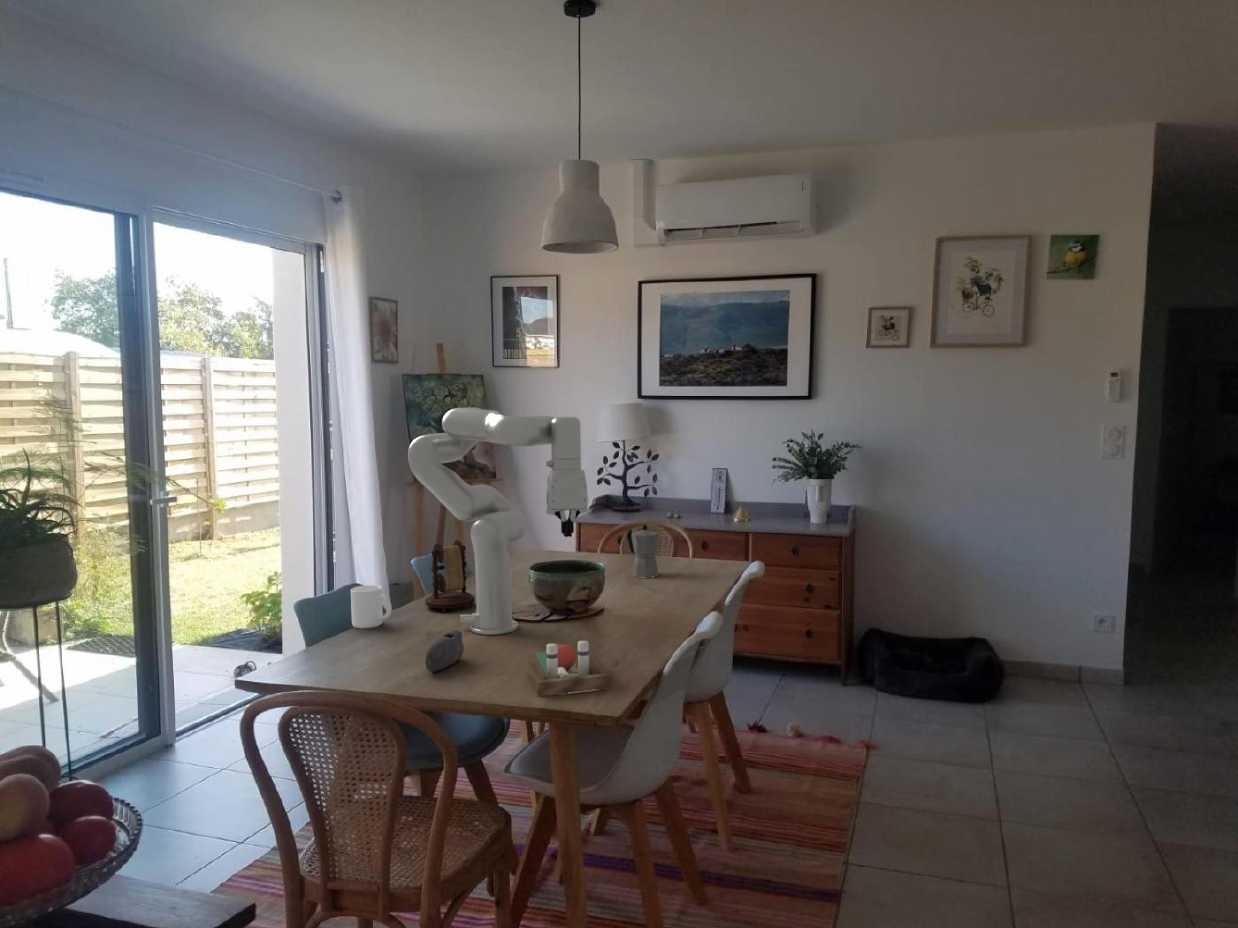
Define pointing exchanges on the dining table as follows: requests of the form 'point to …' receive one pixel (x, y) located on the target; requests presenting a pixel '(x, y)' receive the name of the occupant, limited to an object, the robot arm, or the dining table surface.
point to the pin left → (552, 661)
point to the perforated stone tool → (444, 651)
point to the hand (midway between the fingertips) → (567, 535)
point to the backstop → (571, 680)
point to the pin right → (583, 658)
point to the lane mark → (543, 661)
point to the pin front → (562, 673)
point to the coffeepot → (643, 551)
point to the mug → (368, 606)
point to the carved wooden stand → (449, 578)
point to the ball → (566, 656)
